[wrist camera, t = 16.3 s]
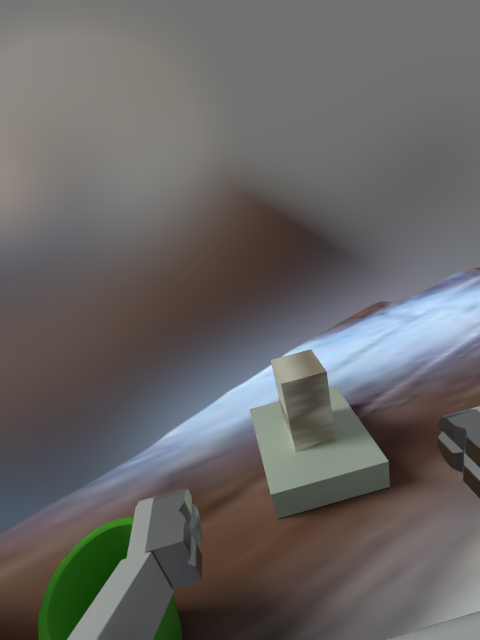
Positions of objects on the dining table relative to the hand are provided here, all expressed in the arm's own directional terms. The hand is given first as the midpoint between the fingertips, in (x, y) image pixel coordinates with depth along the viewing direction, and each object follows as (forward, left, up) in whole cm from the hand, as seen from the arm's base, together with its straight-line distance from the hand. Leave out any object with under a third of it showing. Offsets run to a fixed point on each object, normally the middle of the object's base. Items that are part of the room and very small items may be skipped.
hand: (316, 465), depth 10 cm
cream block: (+4, +23, -22) cm, 32 cm away
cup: (-15, +8, -26) cm, 31 cm away
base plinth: (+4, +23, -26) cm, 35 cm away
